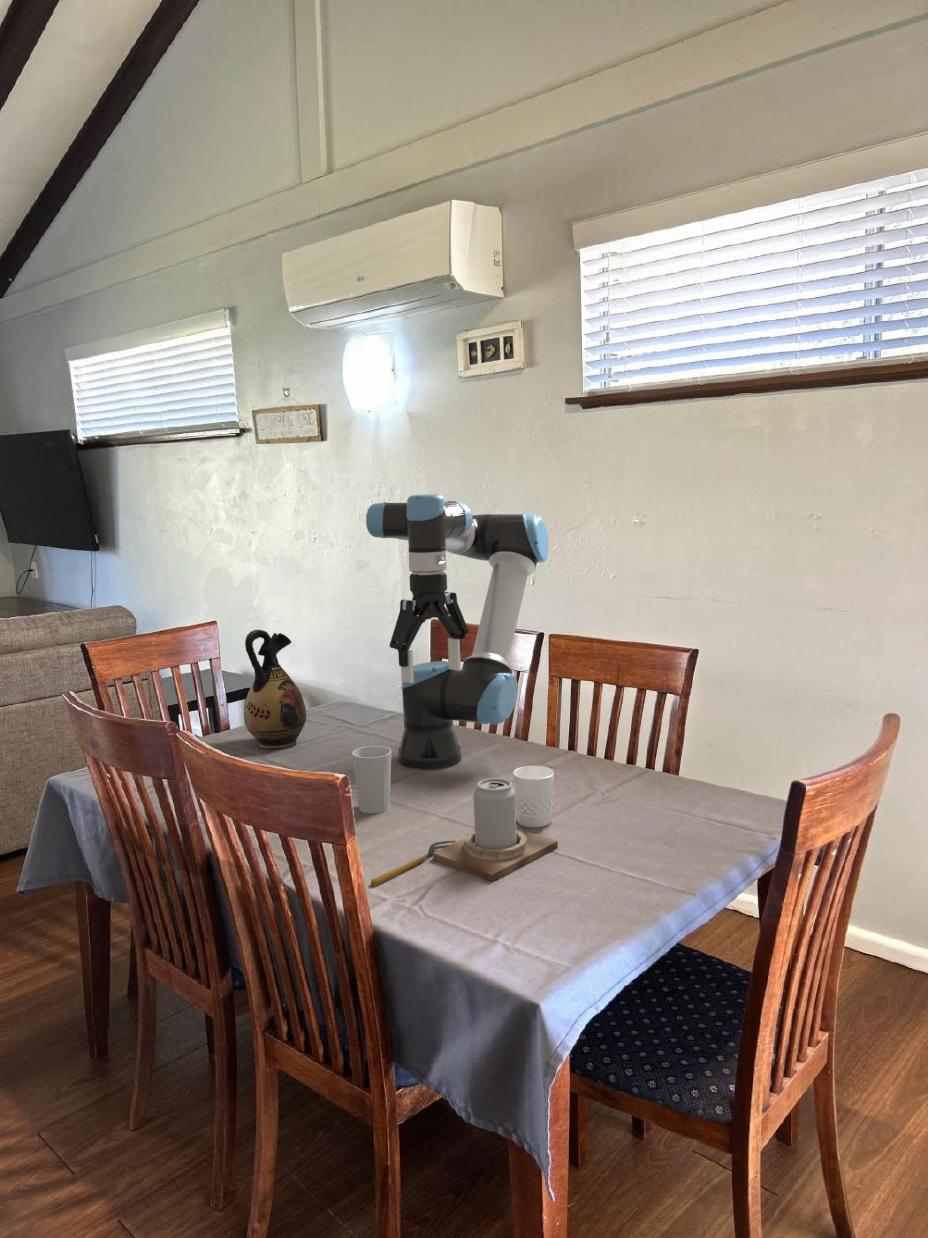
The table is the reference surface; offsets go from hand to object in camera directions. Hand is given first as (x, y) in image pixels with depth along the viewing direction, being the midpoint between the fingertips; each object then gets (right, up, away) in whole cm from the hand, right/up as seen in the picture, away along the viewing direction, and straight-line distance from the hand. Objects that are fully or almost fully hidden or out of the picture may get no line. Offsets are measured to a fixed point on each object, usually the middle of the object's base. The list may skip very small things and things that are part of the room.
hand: (431, 675), depth 189 cm
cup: (-12, -27, +1) cm, 30 cm away
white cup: (+20, -28, -8) cm, 36 cm away
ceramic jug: (-42, -21, +47) cm, 66 cm away
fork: (-2, -32, -26) cm, 42 cm away
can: (+12, -30, -22) cm, 39 cm away
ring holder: (+12, -31, -22) cm, 40 cm away
